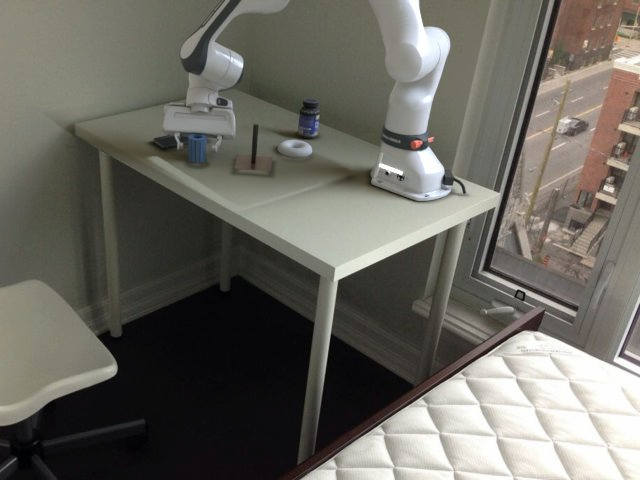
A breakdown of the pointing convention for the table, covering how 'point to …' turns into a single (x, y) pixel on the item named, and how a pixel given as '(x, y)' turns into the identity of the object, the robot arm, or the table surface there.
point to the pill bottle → (309, 119)
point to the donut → (294, 148)
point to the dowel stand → (253, 157)
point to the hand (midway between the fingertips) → (197, 151)
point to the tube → (197, 148)
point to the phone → (169, 142)
